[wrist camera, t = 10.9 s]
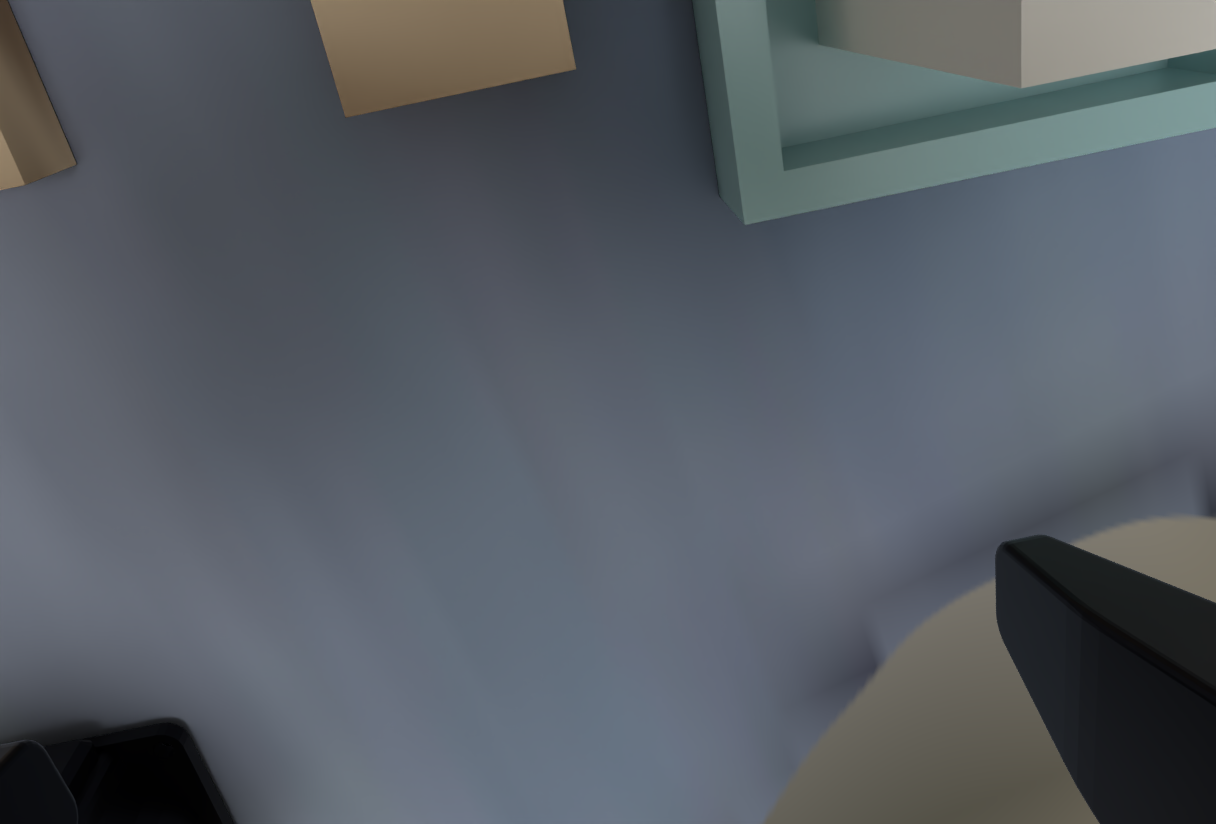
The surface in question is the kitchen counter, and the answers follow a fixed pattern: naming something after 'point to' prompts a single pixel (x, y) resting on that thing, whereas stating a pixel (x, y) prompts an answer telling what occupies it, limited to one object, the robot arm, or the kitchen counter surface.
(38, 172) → the bay
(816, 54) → the tray
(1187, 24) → the white handled drawer
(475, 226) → the kitchen counter surface
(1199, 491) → the kitchen counter surface
